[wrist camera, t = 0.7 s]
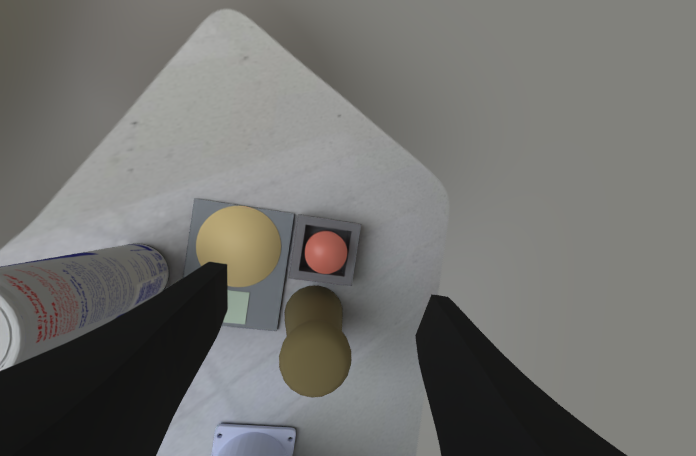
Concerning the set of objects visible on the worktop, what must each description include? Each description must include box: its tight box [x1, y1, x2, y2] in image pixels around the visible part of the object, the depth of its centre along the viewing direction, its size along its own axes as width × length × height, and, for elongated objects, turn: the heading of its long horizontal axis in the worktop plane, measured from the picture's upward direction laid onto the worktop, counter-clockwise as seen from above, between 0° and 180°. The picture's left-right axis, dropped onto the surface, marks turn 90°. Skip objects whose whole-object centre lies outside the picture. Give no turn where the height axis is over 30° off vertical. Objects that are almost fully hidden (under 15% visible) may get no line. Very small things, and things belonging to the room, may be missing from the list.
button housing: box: [289, 215, 361, 286], centre depth 29 cm, size 6×6×3 cm
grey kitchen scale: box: [183, 198, 294, 331], centre depth 29 cm, size 12×10×1 cm
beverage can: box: [0, 244, 169, 371], centre depth 21 cm, size 6×6×15 cm
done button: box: [305, 230, 347, 274], centre depth 28 cm, size 4×4×2 cm
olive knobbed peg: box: [279, 286, 351, 397], centre depth 25 cm, size 6×6×11 cm
